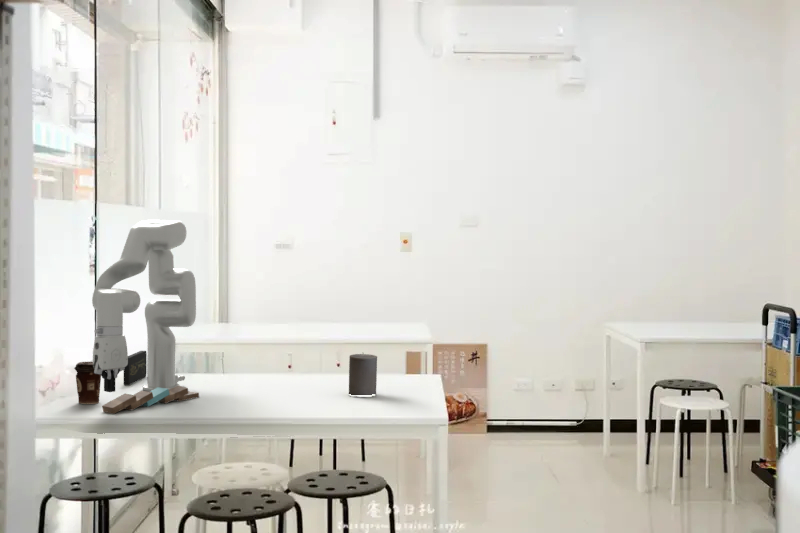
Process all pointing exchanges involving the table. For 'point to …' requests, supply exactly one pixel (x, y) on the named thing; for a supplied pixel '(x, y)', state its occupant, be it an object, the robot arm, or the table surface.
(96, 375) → the coffee cup
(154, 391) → the domino
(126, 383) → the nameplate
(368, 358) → the pillar candle
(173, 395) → the domino
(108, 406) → the domino far
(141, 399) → the domino
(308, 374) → the table surface
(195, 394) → the domino end
